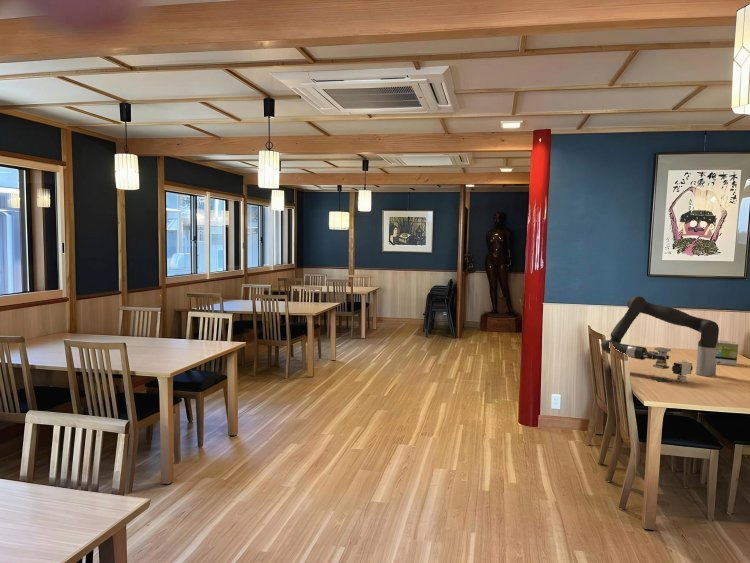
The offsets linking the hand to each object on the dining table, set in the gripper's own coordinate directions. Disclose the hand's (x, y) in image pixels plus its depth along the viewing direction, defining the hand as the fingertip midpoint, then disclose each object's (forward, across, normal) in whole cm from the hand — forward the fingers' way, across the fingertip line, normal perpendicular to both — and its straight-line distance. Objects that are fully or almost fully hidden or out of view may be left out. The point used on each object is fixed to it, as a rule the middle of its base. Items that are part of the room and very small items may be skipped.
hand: (666, 358), depth 307 cm
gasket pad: (-2, 0, +13) cm, 13 cm away
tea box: (+4, +84, +13) cm, 85 cm away
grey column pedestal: (-3, 0, +6) cm, 7 cm away
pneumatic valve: (+6, +6, +13) cm, 16 cm away
